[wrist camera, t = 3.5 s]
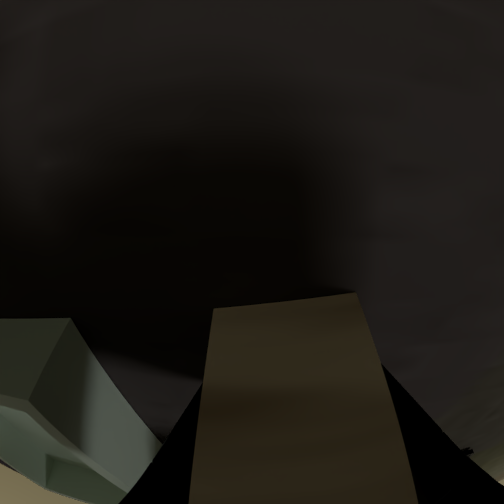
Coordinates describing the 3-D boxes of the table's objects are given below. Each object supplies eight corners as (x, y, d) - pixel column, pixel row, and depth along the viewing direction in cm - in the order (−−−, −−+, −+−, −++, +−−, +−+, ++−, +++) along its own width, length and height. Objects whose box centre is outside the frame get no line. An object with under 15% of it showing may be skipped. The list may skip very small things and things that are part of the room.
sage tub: (193, 477, 17) (188, 522, 14) (55, 454, 18) (45, 489, 15) (70, 317, 9) (28, 400, 6) (-70, 316, 10) (-100, 358, 7)
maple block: (347, 376, 11) (376, 531, 6) (238, 388, 11) (231, 546, 6) (355, 292, 9) (418, 504, 4) (213, 308, 9) (185, 527, 4)
